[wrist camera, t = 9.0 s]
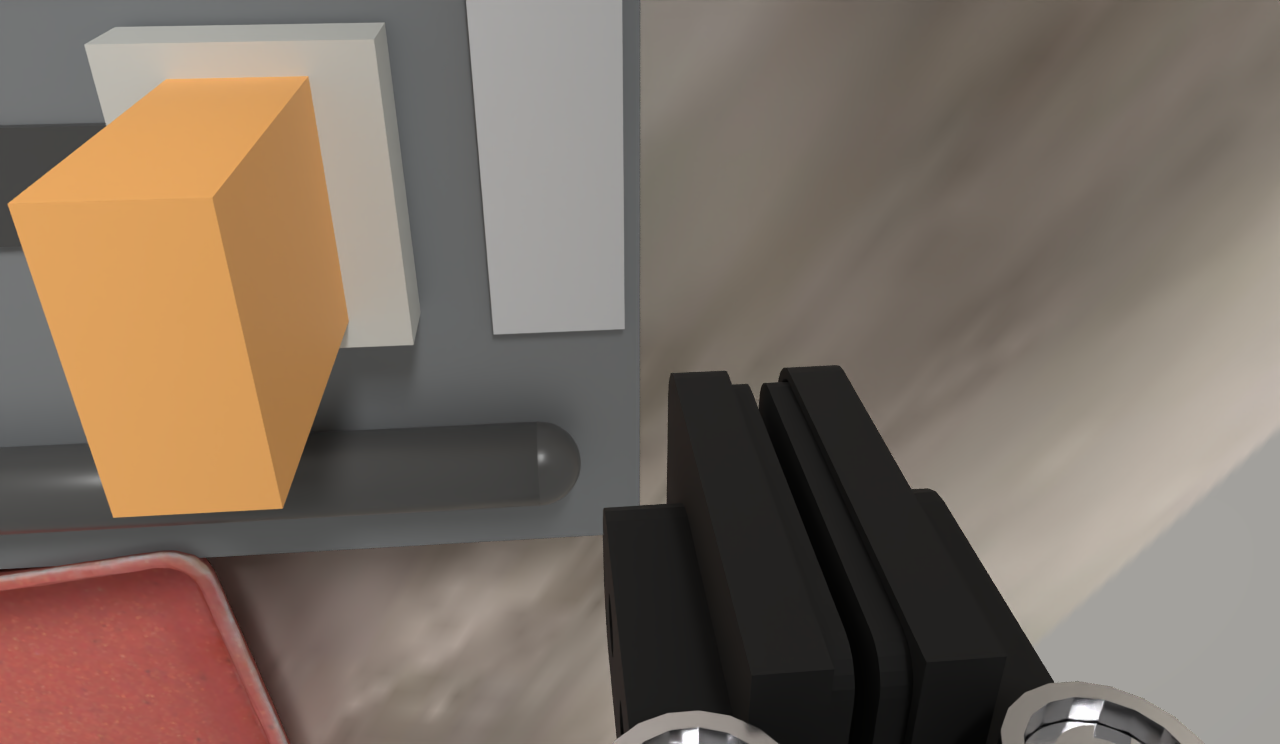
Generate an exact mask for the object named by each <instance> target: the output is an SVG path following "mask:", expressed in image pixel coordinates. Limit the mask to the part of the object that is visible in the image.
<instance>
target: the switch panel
mask: <svg viewBox="0 0 1280 744" xmlns="http://www.w3.org/2000/svg"><path fill="white" fill-rule="evenodd" d="M383 22H385V28H386V36H387V44H388V52H389V60H390V68H391V76H392V85H393V93H394V101H395V109H396V117H397V125H398V133H399V141H400V149H401V157H402V166H403V174H404V182H405V190H406V198H407V206H408V214H409V222H410V230H411V239H412V247H413V255H414V263H415V271H416V279H417V287H418V295H419V303H420V311H421V313H420V318H419V323H418V327H417V332H416V336H415V341H414V345H399V346H375V347H351V348H339V350H338V353H337V356H336V359H335V362H334V365H333V367H332V370H331V373H330V376H329V379H328V382H327V384H326V387H325V390H324V393H323V396H322V399H321V402H320V404H319V407H318V410H317V413H316V416H315V419H314V421H313V424H312V427H311V430H310V433H309V436H308V438H307V441H306V444H305V447H304V450H303V453H302V455H301V458H300V461H299V464H298V467H297V470H296V473H295V475H294V478H293V481H292V484H291V487H290V490H289V492H288V495H287V498H286V501H285V504H284V507H283V509H266V510H248V511H229V512H210V513H192V514H173V515H154V516H136V517H117V518H113V515H112V512H111V509H110V506H109V503H108V500H107V497H106V495H105V492H104V489H103V486H102V483H101V480H100V477H99V474H98V471H97V468H96V465H95V462H94V459H93V456H92V453H91V450H90V447H89V444H88V441H87V438H86V435H85V432H84V429H83V426H82V423H81V420H80V417H79V414H78V411H77V409H76V406H75V403H74V400H73V397H72V394H71V391H70V388H69V385H68V382H67V379H66V376H65V373H64V370H63V367H62V364H61V361H60V358H59V355H58V352H57V349H56V346H55V343H54V340H53V337H52V334H51V331H50V328H49V325H48V323H47V320H46V317H45V314H44V311H43V308H42V305H41V302H40V299H39V296H38V293H37V290H36V287H35V284H34V281H33V278H32V275H31V272H30V269H29V266H28V263H27V260H26V257H25V254H24V251H23V248H22V245H21V242H20V239H19V237H18V234H17V231H16V228H15V225H14V222H13V219H12V216H11V213H10V210H9V207H8V203H9V202H10V201H12V200H13V199H14V198H15V197H17V196H18V195H19V194H21V193H22V192H23V191H24V190H26V189H27V188H28V187H29V186H31V185H32V184H33V183H35V182H36V181H37V180H38V179H40V178H41V177H42V176H43V175H45V174H46V173H47V172H49V171H50V170H51V169H52V168H54V167H55V166H56V165H57V164H59V163H60V162H61V161H63V160H64V159H65V158H66V157H68V156H69V155H70V154H71V153H73V152H74V151H75V150H77V149H78V148H79V147H80V146H82V145H83V144H84V143H85V142H87V141H88V140H89V139H91V138H92V137H93V136H94V135H96V134H97V133H98V132H99V131H101V130H102V129H103V128H105V127H106V123H105V119H104V116H103V112H102V108H101V105H100V101H99V97H98V94H97V90H96V86H95V83H94V79H93V75H92V72H91V68H90V64H89V61H88V57H87V53H86V50H85V46H84V44H86V43H88V42H90V41H91V40H93V39H95V38H97V37H98V36H100V35H102V34H104V33H105V32H107V31H109V30H111V29H113V28H114V27H144V26H204V25H263V24H323V23H383ZM625 506H640V0H0V569H14V568H32V567H50V566H61V565H67V564H74V563H80V562H87V561H94V560H102V559H108V558H114V557H120V556H127V555H133V554H140V553H149V552H155V551H163V550H176V551H181V552H185V553H189V554H192V555H195V556H197V557H198V558H207V557H225V556H242V555H260V554H278V553H295V552H313V551H330V550H348V549H365V548H383V547H400V546H418V545H435V544H453V543H471V542H488V541H506V540H523V539H541V538H558V537H576V536H593V535H603V509H604V508H608V507H625Z"/></svg>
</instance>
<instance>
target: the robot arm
mask: <svg viewBox="0 0 1280 744" xmlns="http://www.w3.org/2000/svg"><path fill="white" fill-rule="evenodd" d="M603 557H604V588H605V609H606V625H607V639H608V652H609V663H610V674H611V684H612V694H613V705H614V715H615V726H616V736H617V739H616V740H615V741H614V742H613V744H1204V743H1203V741H1202V740H1200V739H1199V738H1198V737H1197V736H1196V735H1195V734H1194V733H1193V732H1191V731H1190V730H1189V729H1188V728H1187V727H1186V726H1185V725H1183V724H1182V723H1181V722H1180V721H1179V720H1178V719H1176V717H1174V716H1173V715H1171V714H1169V713H1167V712H1166V711H1164V710H1162V709H1161V708H1159V707H1157V706H1155V705H1154V704H1152V703H1150V702H1148V701H1147V700H1145V699H1143V698H1141V697H1138V696H1135V695H1133V694H1130V693H1127V692H1124V691H1121V690H1119V689H1116V688H1113V687H1110V686H1104V685H1098V684H1092V683H1086V682H1079V681H1075V682H1061V683H1054V681H1053V679H1052V678H1051V676H1050V675H1049V673H1048V671H1047V670H1046V668H1045V666H1044V665H1043V663H1042V661H1041V660H1040V658H1039V656H1038V655H1037V653H1036V652H1035V650H1034V648H1033V647H1032V645H1031V643H1030V642H1029V640H1028V638H1027V637H1026V635H1025V633H1024V632H1023V630H1022V629H1021V627H1020V625H1019V624H1018V622H1017V620H1016V619H1015V617H1014V615H1013V614H1012V612H1011V611H1010V609H1009V607H1008V606H1007V604H1006V602H1005V601H1004V599H1003V597H1002V596H1001V594H1000V593H999V591H998V589H997V588H996V586H995V584H994V583H993V581H992V579H991V578H990V576H989V574H988V573H987V571H986V570H985V568H984V566H983V565H982V563H981V561H980V560H979V558H978V556H977V555H976V553H975V552H974V550H973V548H972V547H971V545H970V543H969V542H968V540H967V538H966V537H965V535H964V533H963V532H962V530H961V529H960V527H959V525H958V524H957V522H956V520H955V519H954V517H953V515H952V514H951V512H950V511H949V509H948V507H947V506H946V504H945V502H944V501H943V500H942V498H941V497H940V496H939V495H938V494H937V492H936V491H933V490H931V489H928V488H927V489H911V488H910V486H909V484H908V483H907V481H906V479H905V477H904V476H903V474H902V472H901V470H900V469H899V467H898V465H897V463H896V462H895V460H894V458H893V456H892V455H891V453H890V451H889V449H888V448H887V446H886V444H885V442H884V441H883V439H882V437H881V435H880V434H879V432H878V430H877V428H876V427H875V425H874V423H873V421H872V420H871V418H870V416H869V414H868V413H867V411H866V409H865V407H864V406H863V404H862V402H861V400H860V399H859V397H858V395H857V393H856V392H855V390H854V388H853V386H852V385H851V383H850V381H849V380H848V378H847V376H846V374H845V373H844V371H843V369H842V368H841V367H840V366H837V365H833V366H812V367H792V368H783V369H782V371H781V372H780V376H779V380H778V382H777V383H763V385H762V387H761V391H760V399H759V409H758V406H757V404H756V401H755V399H754V396H753V394H752V391H751V389H750V387H749V385H748V384H737V385H732V383H731V381H730V378H729V375H728V373H727V371H710V372H689V373H671V375H670V378H669V391H668V453H667V504H659V505H642V506H625V507H608V508H604V509H603Z"/></svg>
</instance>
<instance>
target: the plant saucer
mask: <svg viewBox="0 0 1280 744" xmlns="http://www.w3.org/2000/svg"><path fill="white" fill-rule="evenodd" d="M0 744H290V742H289V739H288V738H287V735H286V733H285V731H284V728H283V726H282V723H281V721H280V719H279V716H278V714H277V712H276V709H275V707H274V704H273V702H272V700H271V697H270V695H269V693H268V691H267V688H266V686H265V684H264V682H263V679H262V677H261V675H260V672H259V670H258V667H257V665H256V663H255V661H254V658H253V656H252V654H251V652H250V650H249V647H248V645H247V643H246V641H245V638H244V636H243V634H242V632H241V629H240V627H239V625H238V622H237V620H236V618H235V616H234V613H233V611H232V609H231V606H230V604H229V602H228V599H227V597H226V595H225V593H224V590H223V588H222V586H221V584H220V582H219V579H218V577H217V575H216V573H215V571H214V569H213V567H212V566H211V564H210V563H209V562H208V560H207V559H206V558H198V557H197V556H195V555H192V554H189V553H185V552H181V551H176V550H163V551H155V552H149V553H140V554H133V555H127V556H120V557H114V558H108V559H102V560H94V561H87V562H80V563H74V564H67V565H61V566H50V567H32V568H14V569H0Z"/></svg>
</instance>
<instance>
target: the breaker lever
mask: <svg viewBox="0 0 1280 744" xmlns="http://www.w3.org/2000/svg"><path fill="white" fill-rule="evenodd" d="M84 46H85V50H86V53H87V57H88V61H89V64H90V68H91V72H92V75H93V79H94V83H95V86H96V90H97V94H98V97H99V101H100V105H101V108H102V112H103V116H104V119H105V123H106V127H105V128H103V129H102V130H101V131H99V132H98V133H97V134H96V135H94V136H93V137H92V138H91V139H89V140H88V141H87V142H85V143H84V144H83V145H82V146H80V147H79V148H78V149H77V150H75V151H74V152H73V153H71V154H70V155H69V156H68V157H66V158H65V159H64V160H63V161H61V162H60V163H59V164H57V165H56V166H55V167H54V168H52V169H51V170H50V171H49V172H47V173H46V174H45V175H43V176H42V177H41V178H40V179H38V180H37V181H36V182H35V183H33V184H32V185H31V186H29V187H28V188H27V189H26V190H24V191H23V192H22V193H21V194H19V195H18V196H17V197H15V198H14V199H13V200H12V201H10V202H9V203H8V207H9V210H10V213H11V216H12V219H13V222H14V225H15V228H16V231H17V234H18V237H19V239H20V242H21V245H22V248H23V251H24V254H25V257H26V260H27V263H28V266H29V269H30V272H31V275H32V278H33V281H34V284H35V287H36V290H37V293H38V296H39V299H40V302H41V305H42V308H43V311H44V314H45V317H46V320H47V323H48V325H49V328H50V331H51V334H52V337H53V340H54V343H55V346H56V349H57V352H58V355H59V358H60V361H61V364H62V367H63V370H64V373H65V376H66V379H67V382H68V385H69V388H70V391H71V394H72V397H73V400H74V403H75V406H76V409H77V411H78V414H79V417H80V420H81V423H82V426H83V429H84V432H85V435H86V438H87V441H88V444H89V447H90V450H91V453H92V456H93V459H94V462H95V465H96V468H97V471H98V474H99V477H100V480H101V483H102V486H103V489H104V492H105V495H106V497H107V500H108V503H109V506H110V509H111V512H112V515H113V518H117V517H136V516H154V515H173V514H192V513H210V512H229V511H248V510H266V509H283V507H284V504H285V501H286V498H287V495H288V492H289V490H290V487H291V484H292V481H293V478H294V475H295V473H296V470H297V467H298V464H299V461H300V458H301V455H302V453H303V450H304V447H305V444H306V441H307V438H308V436H309V433H310V430H311V427H312V424H313V421H314V419H315V416H316V413H317V410H318V407H319V404H320V402H321V399H322V396H323V393H324V390H325V387H326V384H327V382H328V379H329V376H330V373H331V370H332V367H333V365H334V362H335V359H336V356H337V353H338V350H339V348H351V347H375V346H399V345H414V341H415V336H416V332H417V327H418V323H419V318H420V313H421V311H420V303H419V295H418V287H417V279H416V271H415V263H414V255H413V247H412V239H411V230H410V222H409V214H408V206H407V198H406V190H405V182H404V174H403V166H402V157H401V149H400V141H399V133H398V125H397V117H396V109H395V101H394V93H393V85H392V76H391V68H390V60H389V52H388V44H387V36H386V28H385V22H383V23H323V24H263V25H204V26H144V27H114V28H113V29H111V30H109V31H107V32H105V33H104V34H102V35H100V36H98V37H97V38H95V39H93V40H91V41H90V42H88V43H86V44H84Z"/></svg>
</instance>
